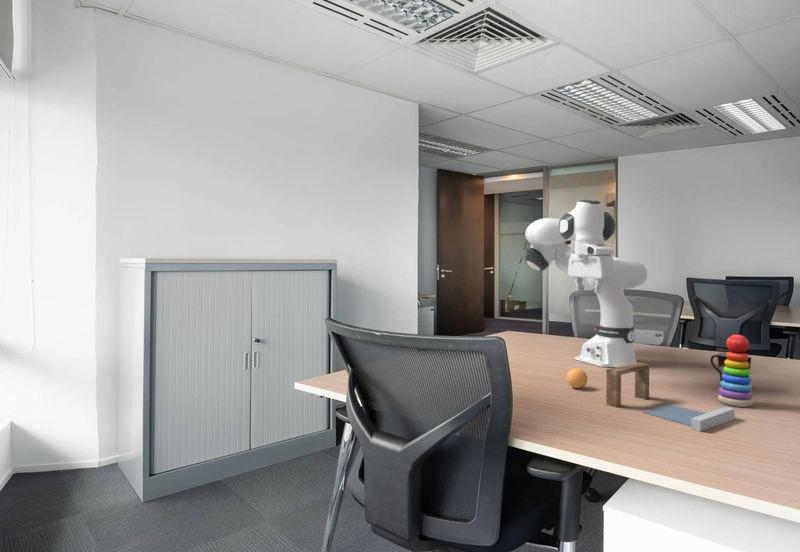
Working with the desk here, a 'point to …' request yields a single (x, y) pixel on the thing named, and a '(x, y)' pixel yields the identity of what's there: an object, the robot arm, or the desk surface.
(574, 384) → the ball
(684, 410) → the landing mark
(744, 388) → the stacking toy
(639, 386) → the bridge
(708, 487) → the desk surface
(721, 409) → the stopper wall
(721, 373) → the coffee mug
